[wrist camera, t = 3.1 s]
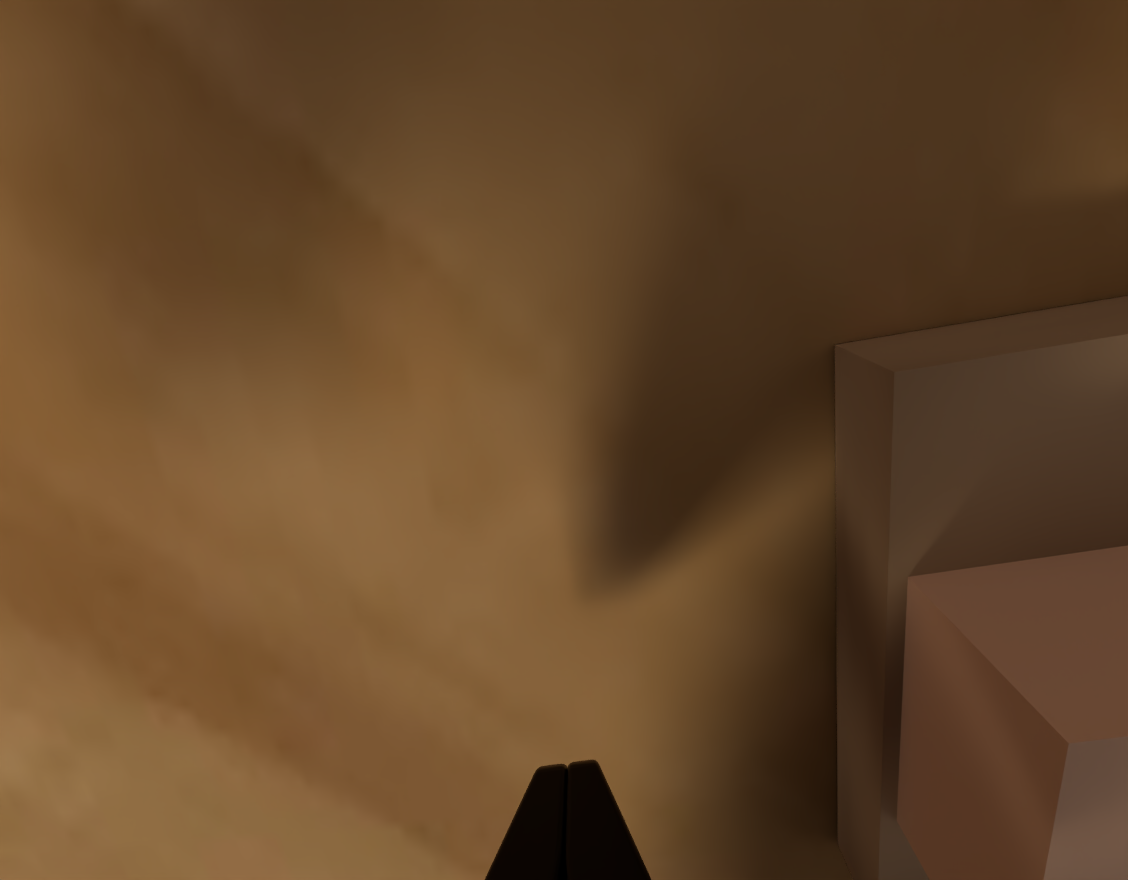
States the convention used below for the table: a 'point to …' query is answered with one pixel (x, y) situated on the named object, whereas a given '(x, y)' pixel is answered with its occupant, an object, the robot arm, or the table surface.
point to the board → (958, 504)
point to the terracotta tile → (1017, 720)
